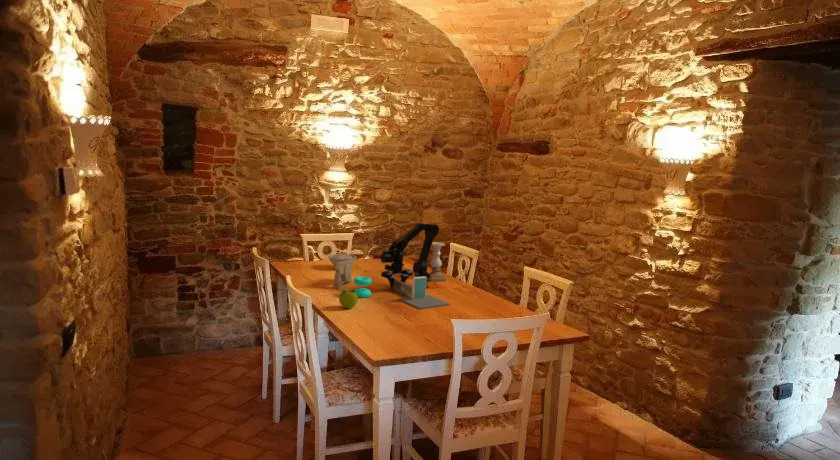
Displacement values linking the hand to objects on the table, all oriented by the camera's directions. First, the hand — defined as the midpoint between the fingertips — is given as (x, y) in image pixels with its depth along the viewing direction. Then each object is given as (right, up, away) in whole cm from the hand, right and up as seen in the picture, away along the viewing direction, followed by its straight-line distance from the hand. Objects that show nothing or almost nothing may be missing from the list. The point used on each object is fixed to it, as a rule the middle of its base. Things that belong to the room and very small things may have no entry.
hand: (396, 287), depth 309 cm
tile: (+13, -4, -18) cm, 23 cm away
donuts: (-19, -3, -15) cm, 24 cm away
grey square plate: (+16, -5, -22) cm, 28 cm away
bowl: (-39, +7, +50) cm, 64 cm away
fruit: (-23, -6, -40) cm, 47 cm away
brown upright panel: (+3, -2, -5) cm, 6 cm away
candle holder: (+24, +1, +34) cm, 41 cm away
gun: (-32, +1, +8) cm, 33 cm away
